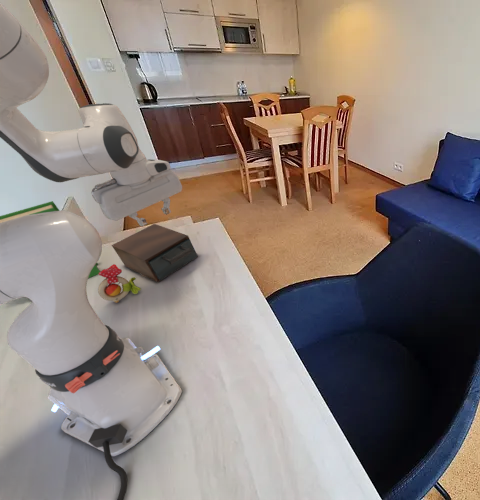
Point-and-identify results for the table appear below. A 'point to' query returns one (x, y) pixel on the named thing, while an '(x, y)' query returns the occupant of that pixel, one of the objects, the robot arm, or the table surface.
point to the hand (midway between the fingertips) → (156, 219)
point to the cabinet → (147, 248)
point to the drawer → (172, 259)
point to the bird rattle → (115, 285)
